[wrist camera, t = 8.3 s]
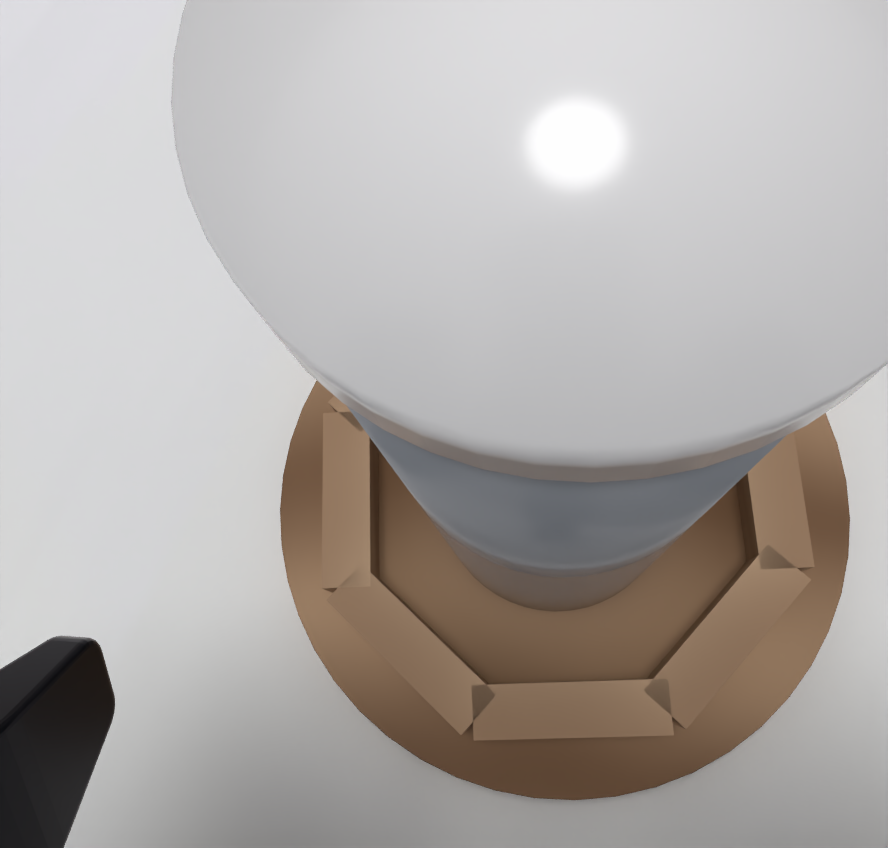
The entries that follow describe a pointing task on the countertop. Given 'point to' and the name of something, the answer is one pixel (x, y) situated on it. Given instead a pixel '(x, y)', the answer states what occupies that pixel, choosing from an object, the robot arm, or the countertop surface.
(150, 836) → the countertop surface
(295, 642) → the countertop surface
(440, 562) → the trivet
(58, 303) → the countertop surface
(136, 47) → the countertop surface
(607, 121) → the canister
